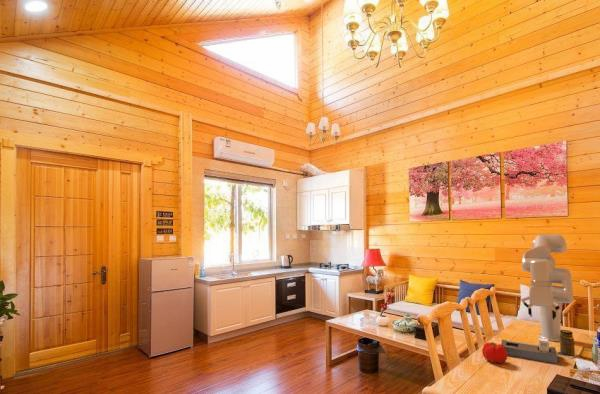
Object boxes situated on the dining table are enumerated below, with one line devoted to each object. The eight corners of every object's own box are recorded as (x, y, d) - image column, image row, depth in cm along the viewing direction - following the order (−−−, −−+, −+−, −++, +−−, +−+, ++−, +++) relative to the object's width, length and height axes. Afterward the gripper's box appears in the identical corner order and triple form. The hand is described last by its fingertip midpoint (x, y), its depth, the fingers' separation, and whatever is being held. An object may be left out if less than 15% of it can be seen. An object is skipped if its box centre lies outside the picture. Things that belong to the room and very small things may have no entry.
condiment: (578, 355, 178) (576, 331, 180) (572, 358, 174) (570, 334, 175) (561, 350, 184) (560, 328, 186) (555, 354, 180) (553, 330, 181)
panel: (502, 346, 191) (502, 338, 191) (555, 355, 178) (555, 346, 178) (501, 354, 179) (500, 345, 180) (557, 364, 166) (557, 355, 166)
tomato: (510, 367, 163) (509, 348, 163) (484, 364, 166) (483, 345, 167) (505, 359, 173) (504, 341, 173) (481, 356, 176) (480, 339, 177)
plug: (539, 355, 177) (538, 337, 178) (549, 357, 175) (548, 339, 176) (540, 358, 173) (538, 340, 174) (549, 360, 171) (548, 341, 172)
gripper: (559, 284, 176) (562, 318, 175) (520, 281, 186) (522, 313, 184) (561, 286, 170) (563, 321, 169) (520, 283, 180) (522, 316, 178)
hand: (542, 317), depth 176 cm, fingers open, 9 cm apart
